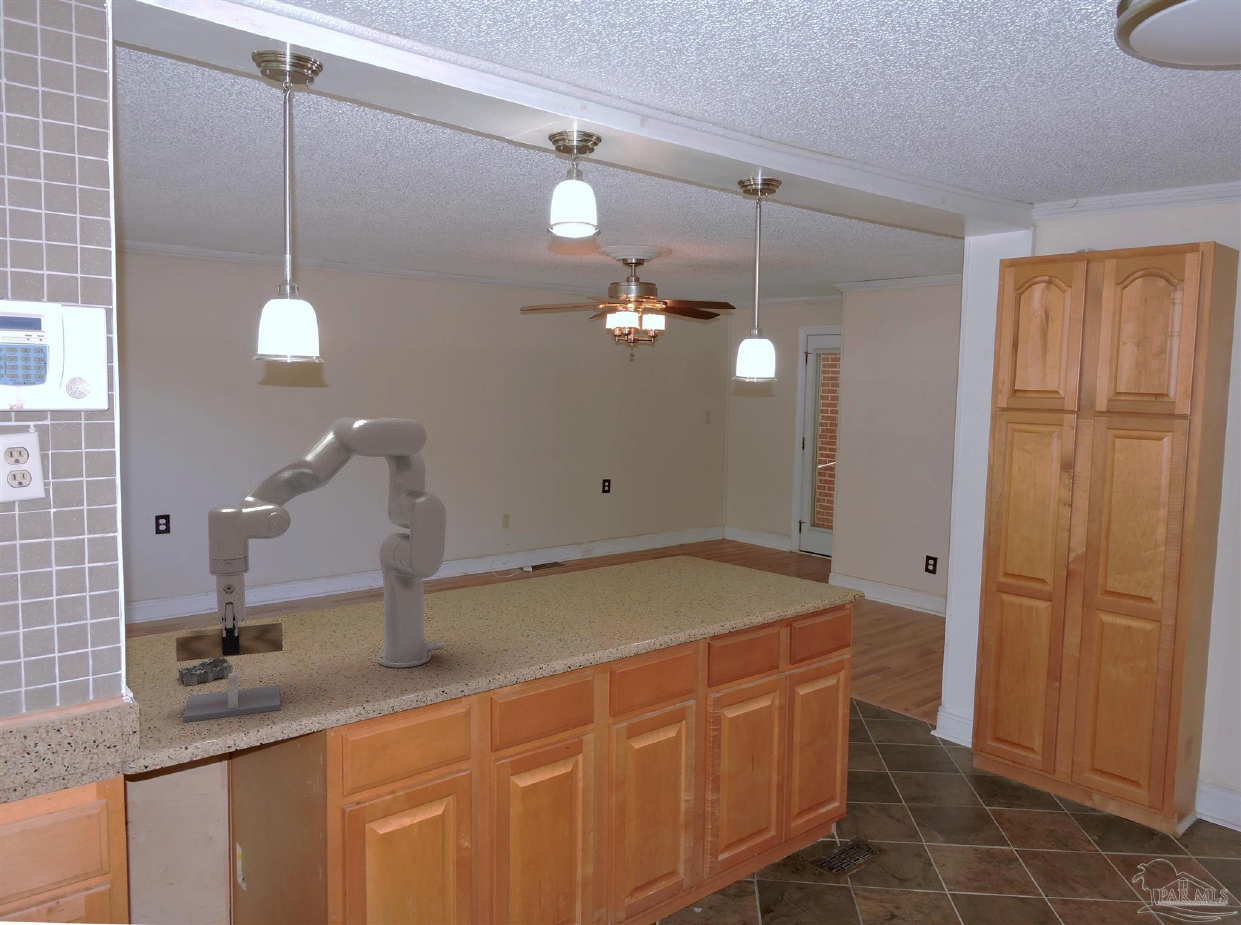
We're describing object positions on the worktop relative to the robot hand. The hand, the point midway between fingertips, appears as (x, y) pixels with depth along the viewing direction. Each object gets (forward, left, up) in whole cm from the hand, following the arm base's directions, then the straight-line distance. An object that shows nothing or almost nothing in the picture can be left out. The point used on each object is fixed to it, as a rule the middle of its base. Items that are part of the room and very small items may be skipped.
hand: (231, 650), depth 177 cm
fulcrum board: (0, 0, -12) cm, 12 cm away
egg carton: (+6, -21, -12) cm, 25 cm away
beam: (0, 0, -1) cm, 1 cm away
